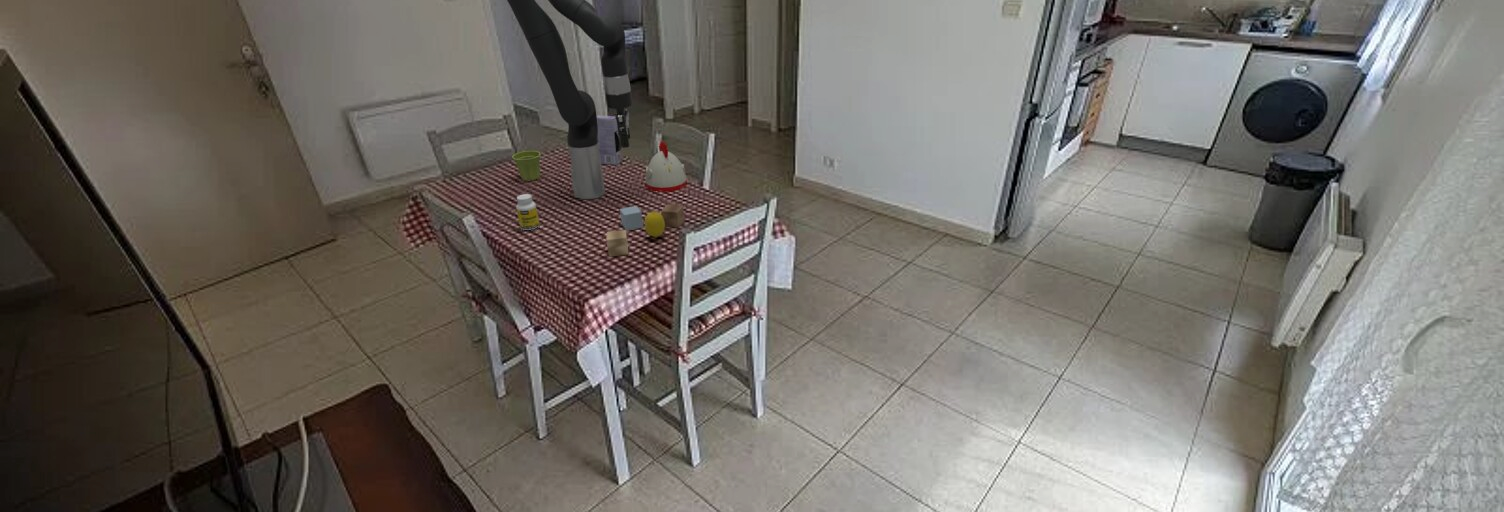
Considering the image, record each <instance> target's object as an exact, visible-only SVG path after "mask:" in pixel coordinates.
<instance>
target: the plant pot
mask: <svg viewBox="0 0 1504 512" xmlns="http://www.w3.org/2000/svg"><path fill="white" fill-rule="evenodd" d="M511 158H512V159H513V160H514V163H515V164H516V166H517V169H518V172H519V175H520V177H521V180H522V181H524V180H533V181H534V180H536V179H537V180H539V179H540V178H539V177H541V169H540V158H541V152H540V151H537V150H525V151H520V152H517V153H515V154H513V155H512V156H511ZM538 178H539V179H538Z"/></svg>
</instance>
